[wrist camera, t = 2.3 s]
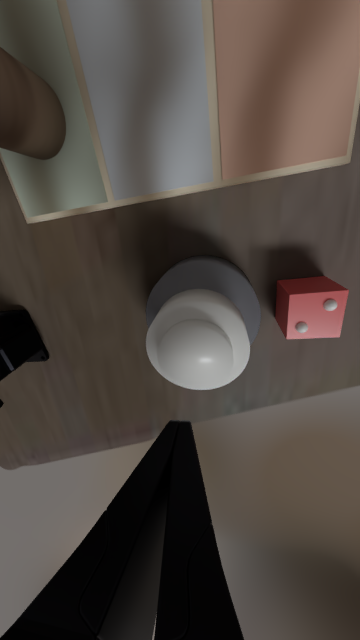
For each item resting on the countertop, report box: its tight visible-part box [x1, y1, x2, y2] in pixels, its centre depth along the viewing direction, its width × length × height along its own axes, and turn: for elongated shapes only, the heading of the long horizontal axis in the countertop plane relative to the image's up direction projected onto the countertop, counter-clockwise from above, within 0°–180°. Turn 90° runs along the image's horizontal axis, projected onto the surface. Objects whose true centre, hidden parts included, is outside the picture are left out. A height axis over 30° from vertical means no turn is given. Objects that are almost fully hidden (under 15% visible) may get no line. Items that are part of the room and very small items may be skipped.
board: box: [0, 0, 360, 223], centre depth 13 cm, size 24×12×1 cm, turn 98°
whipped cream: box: [146, 289, 250, 390], centre depth 14 cm, size 6×6×3 cm
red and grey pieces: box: [146, 255, 349, 345], centre depth 17 cm, size 14×9×4 cm, turn 98°
